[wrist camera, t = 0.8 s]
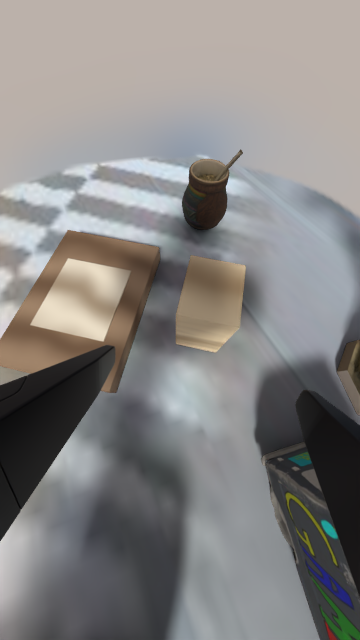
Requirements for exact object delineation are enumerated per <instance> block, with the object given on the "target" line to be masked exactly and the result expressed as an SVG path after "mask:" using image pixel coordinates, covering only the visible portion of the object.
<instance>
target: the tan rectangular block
mask: <svg viewBox="0 0 360 640" xmlns="http://www.w3.org/2000/svg"><path fill="white" fill-rule="evenodd" d="M245 270H246V266H245V265H240V264H234V263H229V262H224V261H219V260H214V259H208V258H203V257H198V256H193V255H191V257H190V260H189V264H188V268H187V272H186V276H185V280H184V284H183V288H182V292H181V296H180V300H179V304H178V308H177V312H176V344H178V345H183V346H187V347H192V348H196V349H200V350H205V351H209V352H214V353H216V352H217V351H218V350H219V349H220V348H221V347H222V345H223V344H224V343H225V342H226V341H227V340H228V339H229V338H230V337H231V336H232V335H233V334H234V333H235V332H236V331H237V330H238V329H239V328H240V318H241V308H242V299H243V289H244V280H245Z"/></svg>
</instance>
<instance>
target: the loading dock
mask: <svg viewBox="0 0 360 640" xmlns="http://www.w3.org/2000/svg"><path fill="white" fill-rule="evenodd" d="M159 262H160V252H159V247H155V246H150V245H144V244H139V243H134V242H129V241H123V240H118V239H113V238H108V237H102V236H97V235H92V234H87V233H81V232H76V231H71V230H68V231H67V233H66V234H65V236H64V237H63V239H62V241H61V242H60V244H59V245H58V247H57V249H56V250H55V252H54V254H53V255H52V257H51V258H50V260H49V262H48V263H47V265H46V266H45V268H44V270H43V271H42V273H41V275H40V276H39V278H38V279H37V281H36V283H35V284H34V286H33V287H32V289H31V291H30V292H29V294H28V296H27V297H26V299H25V300H24V302H23V304H22V305H21V307H20V308H19V310H18V312H17V313H16V315H15V317H14V318H13V320H12V321H11V323H10V325H9V326H8V328H7V329H6V331H5V333H4V334H3V336H2V338H1V339H0V366H2V367H7V368H11V369H15V370H19V371H23V372H27V373H31V374H32V373H34V372H37V371H40V370H42V369H45V368H47V367H50V366H53V365H55V364H58V363H60V362H63V361H66V360H68V359H71V358H73V357H76V356H78V355H81V354H84V353H86V352H89V351H91V350H94V349H97V348H99V347H102V346H104V345H111V346H114V347H115V364H114V366H113V368H112V370H111V372H110V374H109V375H108V377H107V379H106V381H105V383H104V385H103V387H102V389H101V391H104V392H109V393H116V392H117V389H118V386H119V383H120V380H121V377H122V374H123V371H124V368H125V365H126V362H127V359H128V356H129V352H130V349H131V346H132V343H133V340H134V337H135V334H136V331H137V328H138V325H139V322H140V319H141V316H142V313H143V310H144V307H145V304H146V301H147V298H148V295H149V292H150V289H151V286H152V283H153V280H154V277H155V274H156V271H157V268H158V265H159Z"/></svg>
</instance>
